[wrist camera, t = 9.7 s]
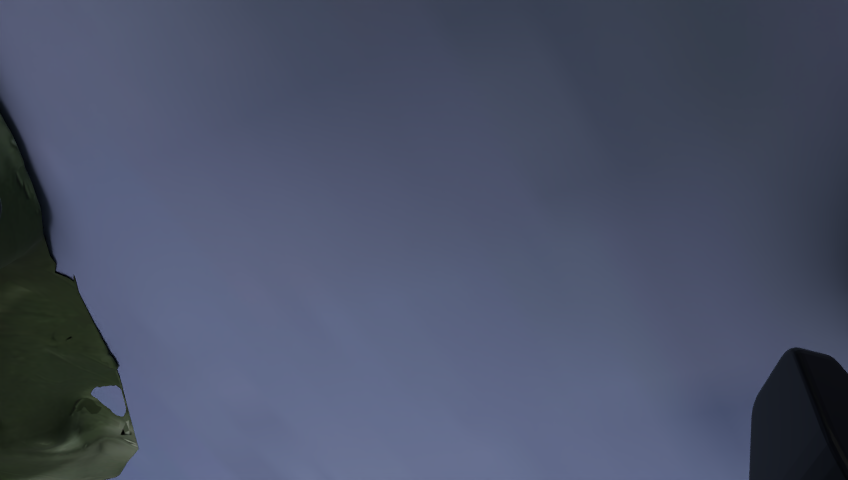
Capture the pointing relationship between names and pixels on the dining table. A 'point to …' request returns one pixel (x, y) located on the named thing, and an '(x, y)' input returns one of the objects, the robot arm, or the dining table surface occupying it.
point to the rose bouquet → (49, 354)
